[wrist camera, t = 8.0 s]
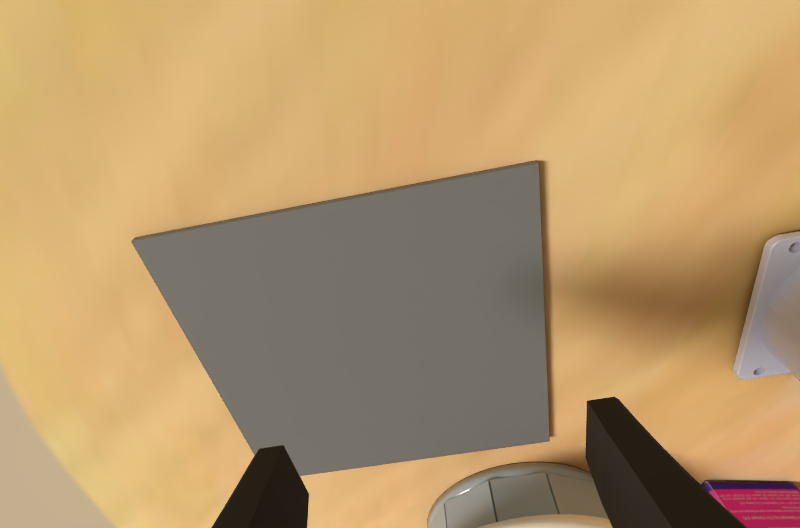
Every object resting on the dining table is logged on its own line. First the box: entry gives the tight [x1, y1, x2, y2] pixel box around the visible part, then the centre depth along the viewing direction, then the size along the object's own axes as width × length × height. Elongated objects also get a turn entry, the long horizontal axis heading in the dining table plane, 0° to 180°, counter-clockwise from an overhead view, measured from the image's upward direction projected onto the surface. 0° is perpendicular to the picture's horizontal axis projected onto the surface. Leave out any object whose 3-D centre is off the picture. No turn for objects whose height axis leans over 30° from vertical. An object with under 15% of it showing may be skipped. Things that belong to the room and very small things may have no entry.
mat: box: [131, 161, 550, 476], centre depth 22 cm, size 16×16×1 cm
